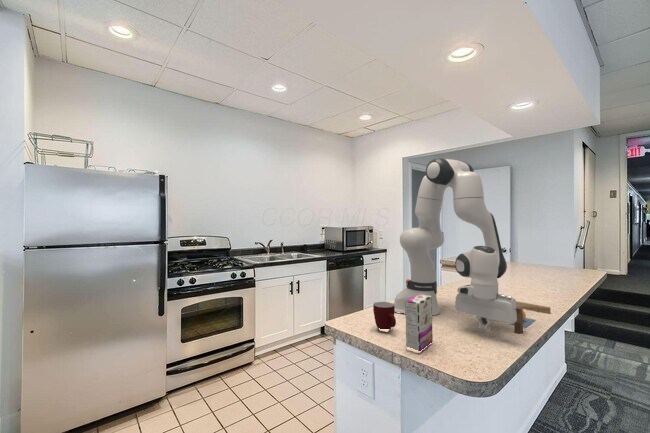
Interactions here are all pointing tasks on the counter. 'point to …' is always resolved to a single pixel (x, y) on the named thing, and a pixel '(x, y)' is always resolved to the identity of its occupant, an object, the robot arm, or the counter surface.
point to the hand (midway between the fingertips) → (484, 329)
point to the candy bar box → (418, 322)
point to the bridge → (518, 324)
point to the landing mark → (526, 322)
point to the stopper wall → (534, 307)
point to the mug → (384, 315)
